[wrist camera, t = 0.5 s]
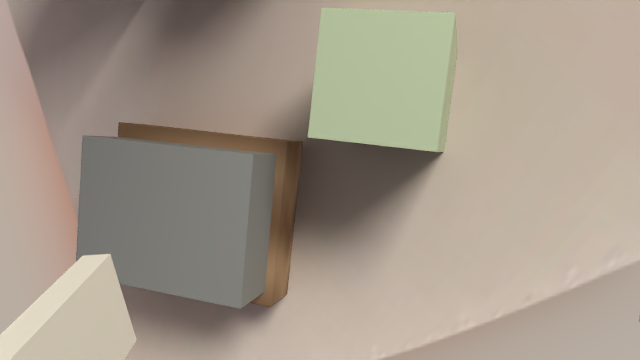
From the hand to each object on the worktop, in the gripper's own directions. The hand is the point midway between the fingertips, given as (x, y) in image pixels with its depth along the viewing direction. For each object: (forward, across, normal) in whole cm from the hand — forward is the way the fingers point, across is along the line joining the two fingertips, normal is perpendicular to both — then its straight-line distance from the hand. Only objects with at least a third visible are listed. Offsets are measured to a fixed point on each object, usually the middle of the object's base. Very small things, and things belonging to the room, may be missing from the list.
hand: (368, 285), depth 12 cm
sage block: (+25, +2, -1) cm, 25 cm away
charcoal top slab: (+22, -14, -7) cm, 27 cm away
